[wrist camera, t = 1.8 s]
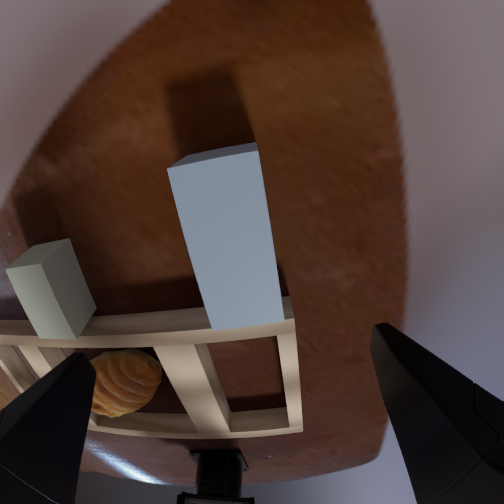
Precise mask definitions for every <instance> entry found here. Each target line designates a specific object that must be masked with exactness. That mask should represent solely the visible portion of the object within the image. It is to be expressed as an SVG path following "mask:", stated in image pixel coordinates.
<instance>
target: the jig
mask: <svg viewBox="0 0 504 504" xmlns="http://www.w3.org/2000/svg"><path fill="white" fill-rule="evenodd" d="M281 299H282V306H283V313H284V320H285V321H284V322H277V323H270V324H263V325H256V326H248V327H241V328H232V329H224V330H215V331H213V330H212V327H211V324H210V321H209V318H208V315H207V311H206V308H205V307H198V308H188V309H178V310H168V311H157V312H146V313H134V314H121V315H108V316H92V317H91V318H90V319H89V321H88V322H87V324H86V326H85V327H84V329H83V330H82V332H81V334H80V335H79V337H78V338H77V340H71V339H45V338H39V336H38V334H37V333H36V331H35V329H34V327H33V326H32V324H31V322H30V320H29V319H25V320H0V366H1V367H2V369H3V370H4V371H5V373H6V374H7V375H8V377H9V378H10V379H11V381H12V382H13V383H14V385H15V386H16V387H17V388H18V390H19V391H20V392H21V393H23V392H24V391H25V390H27V389H28V388H29V387H30V386H32V385H33V384H34V383H35V382H36V380H35V379H34V378H33V376H32V375H31V373H30V372H29V371H28V369H27V368H26V366H25V365H24V364H23V362H22V361H21V359H20V358H19V356H18V355H17V353H16V352H15V350H14V349H13V347H12V346H11V345H18V346H19V348H20V350H21V351H22V353H23V354H24V356H25V357H26V359H27V360H28V362H29V363H30V364H31V366H32V367H33V369H34V370H35V372H36V373H37V374H38V376H39V377H40V378H42V377H43V376H44V375H45V374H47V373H48V372H49V371H51V370H52V369H53V368H54V367H56V366H57V365H58V364H59V363H61V362H62V361H63V360H65V359H66V357H65V355H64V353H63V352H62V350H61V349H60V347H62V348H127V347H153V348H154V350H155V352H156V354H157V356H158V358H159V360H160V362H161V364H162V366H163V368H164V370H165V372H166V374H167V376H168V378H169V380H170V382H171V384H172V386H173V387H174V389H175V391H176V393H177V395H178V397H179V399H180V400H181V402H182V404H183V406H184V408H185V409H186V411H187V413H145V412H132V413H126V414H123V415H122V416H119V417H113V418H110V417H108V416H107V415H101V414H98V413H95V412H94V411H93V410H92V409H91V415H90V420H89V424H88V429H89V430H95V431H101V432H108V433H116V434H124V435H133V436H144V437H157V438H178V439H225V438H245V437H259V436H270V435H280V434H288V433H296V432H303V422H302V407H301V393H300V380H299V367H298V355H297V344H296V333H295V322H294V315H293V310H292V305H291V300H290V296H285V297H281ZM276 335H277V340H278V347H279V354H280V361H281V368H282V375H283V382H284V389H285V397H286V404H287V407H281V408H273V409H263V410H252V411H239V412H231V410H230V407H229V405H228V402H227V399H226V397H225V394H224V391H223V389H222V386H221V383H220V381H219V378H218V375H217V373H216V370H215V367H214V364H213V361H212V359H211V356H210V353H209V350H208V347H207V344H206V343H213V342H224V341H233V340H243V339H252V338H260V337H268V336H276Z"/></svg>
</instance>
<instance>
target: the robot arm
mask: <svg viewBox="0 0 504 504" xmlns="http://www.w3.org/2000/svg"><path fill="white" fill-rule="evenodd" d="M370 350H371V355H372V359H373V363H374V367H375V371H376V374H377V379H378V383H379V387H380V391H381V395H382V398H383V401H384V404H385V406H386V409H387V412H388V415H389V417H390V420H391V423H392V426H393V429H394V432H395V434H396V437H397V440H398V443H399V446H400V449H401V452H402V455H403V458H404V462H405V465H406V468H407V471H408V474H409V477H410V480H411V484H412V487H413V491H414V494H415V498H416V501H417V504H504V401H502V400H500V399H498V398H497V397H495V396H494V395H492V394H491V393H489V392H488V391H486V390H485V389H483V388H482V387H480V386H479V385H478V384H476V383H474V384H473V381H472V380H470V379H469V378H467V377H466V376H465V375H463V374H462V373H460V372H459V371H457V370H456V369H454V368H453V367H451V366H450V365H449V364H447V363H446V362H444V361H443V360H442V359H440V358H439V357H437V356H436V355H434V354H433V353H431V352H430V351H428V350H427V349H426V348H424V347H423V346H421V345H420V344H418V343H417V342H415V341H414V340H412V339H411V338H409V337H408V336H406V335H405V334H404V333H402V332H401V331H399V330H398V329H396V328H395V327H393V326H392V325H390V324H389V323H386V322H385V323H380V324H376V325H374V326H373V328H372V336H371V343H370ZM95 382H96V370H95V368H94V367H93V365H92V363H91V362H90V360H89V359H88V357H87V356H86V354H84V353H80V352H75V353H72V354H71V355H70V356H68V357H67V358H66V359H65V360H63V361H62V362H61V363H59V364H58V365H57V366H56V367H54V368H53V369H52V370H51V371H49V372H48V373H47V374H45V375H44V376H43V377H42V378H40V379H39V380H38V381H37V382H35V383H34V384H33V385H32V386H30V387H29V388H28V389H27V390H25V391H24V392H23V393H22V394H20V395H19V396H18V397H17V398H15V399H14V400H13V401H12V402H11V403H9V404H8V405H7V406H6V407H5V408H3V409H2V410H1V411H0V504H75V497H76V490H77V483H78V477H79V470H80V465H81V459H82V453H83V448H84V443H85V438H86V433H87V429H88V424H89V420H90V415H91V409H92V402H93V395H94V388H95ZM189 455H190V456H191V457H192V459H193V460H194V461H195V463H196V464H197V474H196V484H195V493H194V494H191V493H186V492H182V494H179V495H178V496H177V503H176V504H255V502H254V497H250V498H242V471H248V466H247V464H246V461H245V459H244V457H243V455H242V453H241V451H237V450H235V451H190V453H189Z"/></svg>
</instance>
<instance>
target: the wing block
mask: <svg viewBox="0 0 504 504" xmlns="http://www.w3.org/2000/svg"><path fill="white" fill-rule="evenodd" d="M167 171H168V175H169V179H170V183H171V187H172V191H173V195H174V199H175V203H176V207H177V211H178V215H179V218H180V222H181V226H182V230H183V233H184V237H185V241H186V244H187V248H188V251H189V255H190V258H191V262H192V265H193V269H194V272H195V276H196V279H197V282H198V286H199V289H200V292H201V295H202V299H203V302H204V305H205V308H206V311H207V315H208V318H209V321H210V324H211V327H212V330H213V331H215V330H224V329H232V328H241V327H248V326H256V325H263V324H270V323H277V322H284V321H285V320H284V313H283V306H282V299H281V292H280V285H279V279H278V272H277V265H276V259H275V252H274V246H273V239H272V233H271V226H270V220H269V214H268V208H267V202H266V195H265V189H264V183H263V177H262V171H261V165H260V160H259V154H258V148H257V144H256V142H253V143H247V144H242V145H236V146H230V147H225V148H220V149H215V150H210V151H205V152H200V153H196V154H191V155H187V156H185V157H184V158H182V159H181V160H179V161H178V162H176V163H175V164H173V165H172V166H170V167H169V168H167Z"/></svg>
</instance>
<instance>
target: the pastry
mask: <svg viewBox="0 0 504 504" xmlns="http://www.w3.org/2000/svg"><path fill="white" fill-rule="evenodd" d="M90 362H91V363H92V365H93V367H94V368H95V370H96V382H95V388H94V395H93V402H92V410H93V411H94V412H95V413H98V414H101V415H107V416H108V417H110V418H113V417H119V416H122V415H123V414H126V413H132V412H134V411H136V410H139V409H140V408H141V407H142V406H145V405H146V404H147V403H148V402H149V401H150V400H151V399H152V397H153V395H154V394H155V392H156V389H157V387H158V385H159V384H160V383H161V377H162V365H161V363H160V362H158V361H157V360H156V359H154V358H153V357H152V356H150V355H149V354H147V353H145V352H143V351H140V350H138V349H136V348H127V349H125V350H122V351H105V352H102V354H101V355H99V356H97V357H95V358H93V359H92V360H90Z"/></svg>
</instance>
